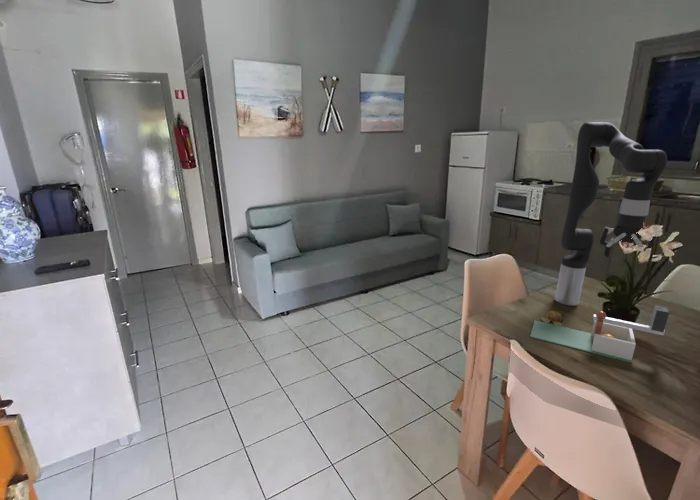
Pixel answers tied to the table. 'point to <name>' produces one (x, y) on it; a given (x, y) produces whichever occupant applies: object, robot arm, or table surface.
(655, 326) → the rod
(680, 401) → the table surface
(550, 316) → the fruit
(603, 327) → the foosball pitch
